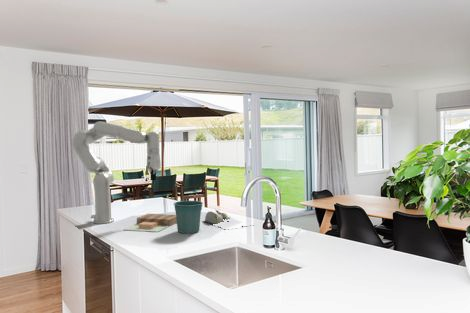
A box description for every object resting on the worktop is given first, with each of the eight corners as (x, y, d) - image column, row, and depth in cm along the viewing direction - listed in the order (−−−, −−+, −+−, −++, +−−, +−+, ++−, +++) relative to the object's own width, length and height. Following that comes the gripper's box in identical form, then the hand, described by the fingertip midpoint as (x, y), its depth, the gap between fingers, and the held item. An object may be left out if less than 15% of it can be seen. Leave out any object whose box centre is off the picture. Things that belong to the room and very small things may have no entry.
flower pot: (209, 229, 217) (208, 201, 217) (191, 236, 203) (191, 206, 203) (186, 226, 226) (185, 199, 225) (167, 232, 212) (167, 204, 211)
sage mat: (123, 230, 219) (123, 229, 219) (136, 224, 233) (136, 224, 233) (157, 232, 213) (157, 231, 213) (169, 226, 227) (169, 225, 227)
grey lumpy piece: (198, 209, 243) (224, 206, 254) (198, 221, 243) (224, 217, 254) (226, 217, 216) (254, 213, 227) (226, 231, 216) (254, 226, 228)
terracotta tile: (143, 221, 228) (143, 225, 228) (138, 224, 222) (138, 228, 222) (157, 222, 225) (157, 226, 225) (152, 224, 220) (152, 228, 220)
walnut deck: (136, 224, 234) (136, 217, 233) (148, 219, 247) (148, 213, 247) (169, 226, 228) (169, 219, 227) (179, 221, 241) (179, 215, 241)
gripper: (152, 151, 234) (152, 181, 234) (164, 151, 248) (164, 179, 249) (141, 151, 236) (142, 181, 237) (153, 151, 250) (154, 178, 251)
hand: (153, 180), depth 243 cm, fingers closed
